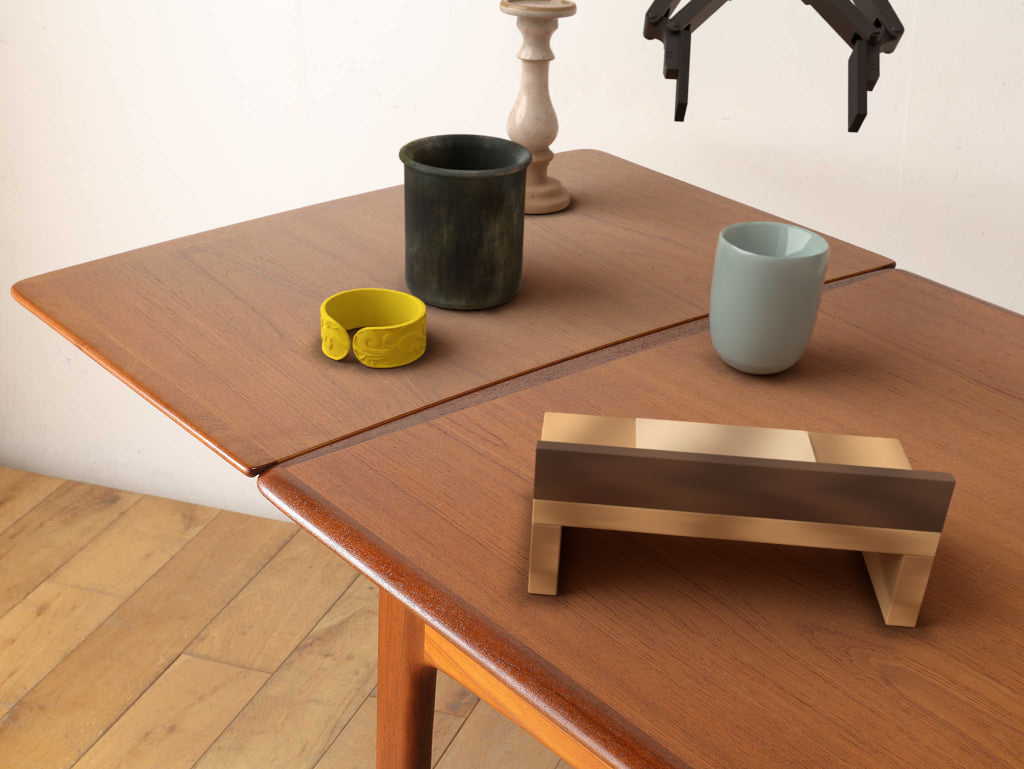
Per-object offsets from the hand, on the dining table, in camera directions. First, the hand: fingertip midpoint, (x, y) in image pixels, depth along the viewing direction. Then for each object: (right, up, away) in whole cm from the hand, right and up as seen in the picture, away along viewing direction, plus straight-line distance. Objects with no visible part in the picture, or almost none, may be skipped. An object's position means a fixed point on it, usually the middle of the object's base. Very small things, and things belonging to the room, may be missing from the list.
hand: (768, 118), depth 82 cm
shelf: (-9, -30, -23) cm, 39 cm away
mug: (-24, -12, +11) cm, 29 cm away
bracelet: (-30, -18, -1) cm, 35 cm away
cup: (-1, -19, -1) cm, 19 cm away
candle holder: (-18, -1, +31) cm, 36 cm away
